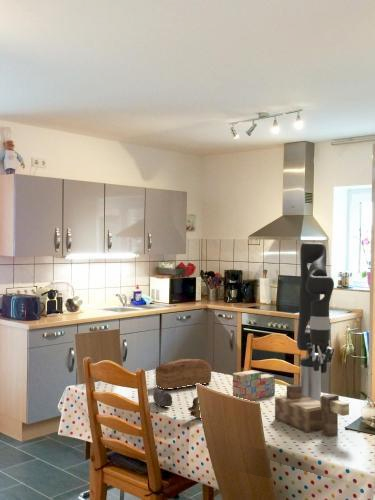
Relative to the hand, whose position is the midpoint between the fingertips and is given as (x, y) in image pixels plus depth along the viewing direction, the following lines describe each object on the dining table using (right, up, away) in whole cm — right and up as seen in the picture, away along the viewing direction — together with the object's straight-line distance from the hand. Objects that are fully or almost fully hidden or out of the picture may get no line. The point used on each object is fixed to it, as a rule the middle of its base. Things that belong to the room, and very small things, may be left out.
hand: (319, 371), depth 217 cm
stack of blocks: (-20, -23, +51) cm, 59 cm away
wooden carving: (-45, -23, +18) cm, 54 cm away
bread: (-54, -24, +72) cm, 93 cm away
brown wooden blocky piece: (-3, -23, +6) cm, 24 cm away
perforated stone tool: (-64, -24, +36) cm, 77 cm away
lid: (-5, -15, +9) cm, 19 cm away
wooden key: (+4, -13, -7) cm, 16 cm away
